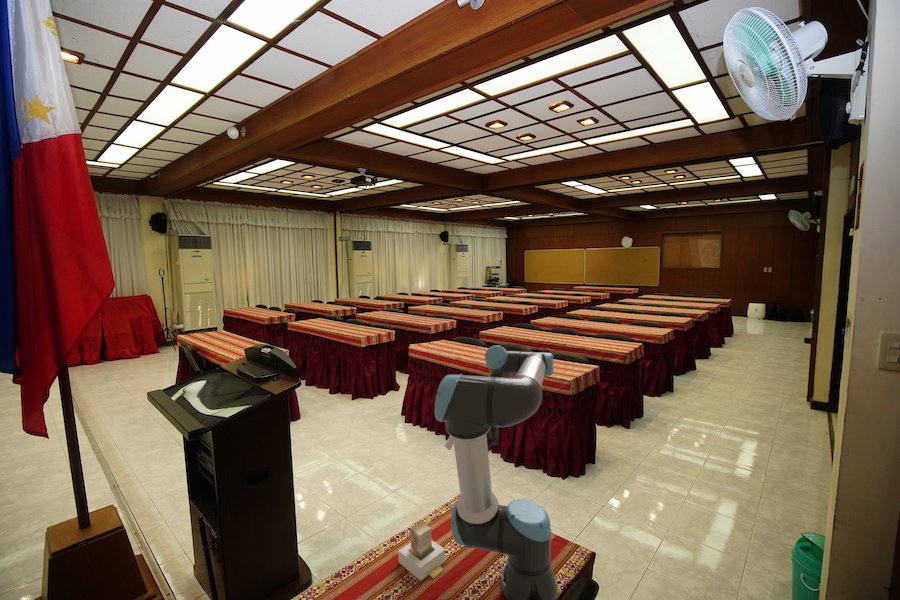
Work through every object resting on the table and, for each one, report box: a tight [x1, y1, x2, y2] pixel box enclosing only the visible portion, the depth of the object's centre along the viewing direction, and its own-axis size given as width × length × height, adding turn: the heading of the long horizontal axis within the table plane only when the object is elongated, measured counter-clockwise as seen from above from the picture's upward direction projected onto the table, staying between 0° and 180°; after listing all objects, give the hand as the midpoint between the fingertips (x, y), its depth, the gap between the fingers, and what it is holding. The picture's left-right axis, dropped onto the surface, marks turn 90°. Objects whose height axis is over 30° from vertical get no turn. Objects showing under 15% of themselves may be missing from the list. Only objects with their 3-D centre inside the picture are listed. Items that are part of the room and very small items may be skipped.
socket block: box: [398, 539, 446, 582], centre depth 120 cm, size 12×10×4 cm
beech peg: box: [409, 521, 433, 560], centre depth 121 cm, size 4×4×11 cm
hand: (461, 455), depth 130 cm, fingers open, 13 cm apart
